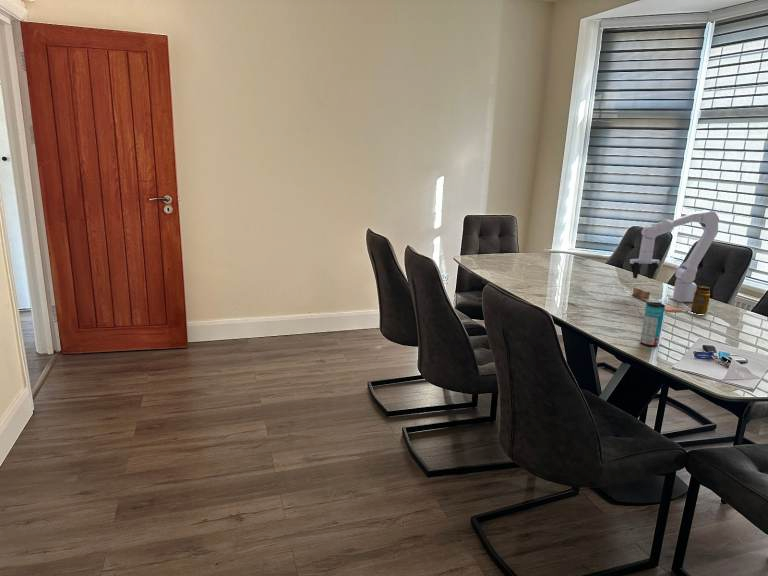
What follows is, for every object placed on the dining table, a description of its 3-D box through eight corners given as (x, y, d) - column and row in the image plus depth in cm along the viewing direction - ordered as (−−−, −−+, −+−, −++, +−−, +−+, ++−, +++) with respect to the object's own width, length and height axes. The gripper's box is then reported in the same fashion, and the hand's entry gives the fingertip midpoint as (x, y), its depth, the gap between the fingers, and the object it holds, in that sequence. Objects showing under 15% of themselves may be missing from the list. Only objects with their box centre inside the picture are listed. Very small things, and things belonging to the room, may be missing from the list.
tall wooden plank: (629, 294, 264) (630, 287, 263) (640, 294, 265) (641, 287, 264) (649, 303, 248) (651, 295, 247) (661, 304, 249) (663, 295, 248)
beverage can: (661, 347, 187) (668, 306, 184) (645, 347, 187) (652, 306, 183) (652, 341, 193) (658, 302, 189) (636, 341, 192) (643, 301, 189)
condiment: (710, 314, 235) (715, 287, 232) (700, 316, 230) (706, 289, 227) (693, 309, 240) (698, 284, 238) (684, 312, 236) (688, 286, 233)
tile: (671, 305, 243) (682, 310, 235) (670, 308, 243) (681, 313, 236) (656, 305, 243) (667, 309, 235) (656, 307, 243) (666, 312, 235)
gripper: (655, 249, 260) (650, 276, 263) (627, 249, 258) (623, 276, 261) (664, 252, 253) (659, 279, 257) (636, 251, 251) (632, 279, 255)
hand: (642, 278), depth 258 cm, fingers open, 7 cm apart
